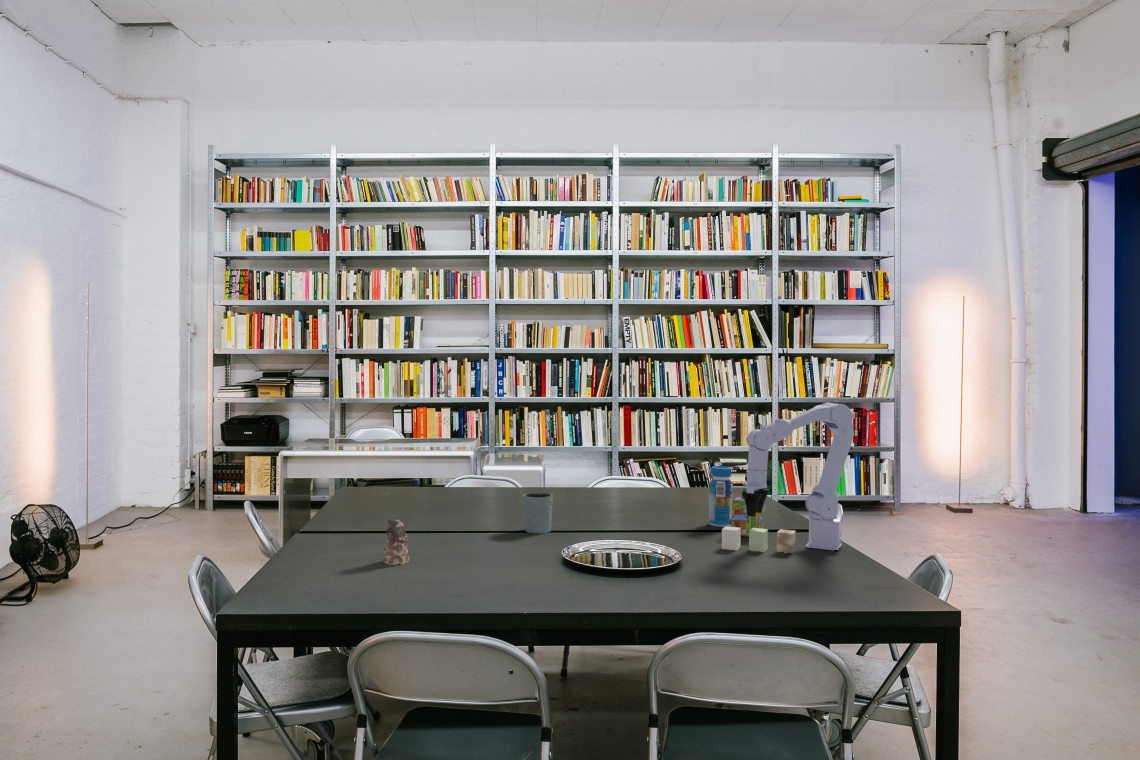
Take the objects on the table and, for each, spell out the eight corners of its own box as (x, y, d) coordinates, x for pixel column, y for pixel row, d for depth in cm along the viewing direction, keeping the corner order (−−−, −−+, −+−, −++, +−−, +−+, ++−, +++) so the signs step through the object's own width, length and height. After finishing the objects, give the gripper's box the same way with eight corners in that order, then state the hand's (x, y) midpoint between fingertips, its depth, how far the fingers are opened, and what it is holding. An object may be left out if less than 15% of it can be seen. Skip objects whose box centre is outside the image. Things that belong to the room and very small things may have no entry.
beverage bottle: (703, 524, 265) (703, 466, 264) (719, 521, 270) (720, 464, 269) (721, 528, 258) (722, 469, 257) (738, 525, 263) (738, 467, 262)
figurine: (396, 566, 209) (396, 523, 209) (377, 563, 213) (377, 520, 213) (414, 561, 215) (414, 518, 215) (395, 557, 219) (395, 515, 219)
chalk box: (730, 535, 248) (731, 490, 248) (738, 529, 257) (738, 485, 256) (759, 538, 244) (759, 492, 244) (765, 532, 252) (766, 488, 252)
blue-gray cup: (540, 535, 247) (541, 498, 247) (516, 531, 253) (516, 495, 252) (558, 529, 255) (558, 493, 255) (534, 525, 261) (534, 490, 261)
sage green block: (767, 549, 231) (767, 529, 231) (764, 552, 227) (764, 532, 227) (752, 547, 233) (753, 527, 233) (749, 550, 229) (749, 530, 229)
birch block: (795, 550, 229) (795, 530, 229) (792, 554, 225) (792, 533, 225) (780, 549, 231) (780, 529, 231) (776, 552, 227) (777, 532, 227)
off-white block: (740, 547, 233) (740, 527, 233) (736, 550, 229) (736, 530, 229) (726, 545, 235) (726, 526, 235) (721, 548, 231) (721, 529, 231)
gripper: (750, 465, 238) (747, 509, 239) (737, 470, 225) (734, 515, 226) (773, 468, 235) (770, 512, 235) (761, 473, 222) (758, 519, 222)
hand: (754, 514), depth 230 cm, fingers open, 7 cm apart
